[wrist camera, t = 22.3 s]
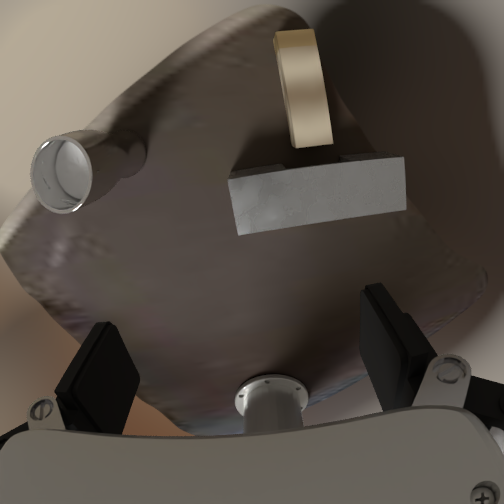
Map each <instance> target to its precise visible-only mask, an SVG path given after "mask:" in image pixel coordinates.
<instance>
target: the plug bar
mask: <svg viewBox="0 0 504 504" xmlns="http://www.w3.org/2000/svg"><path fill="white" fill-rule="evenodd" d="M273 43H274V48H275V53H276V58H277V63H278V68H279V74H280V79H281V85H282V90H283V96H284V102H285V108H286V114H287V120H288V126H289V132H290V138H291V145H292V146H293V147H295V148H302V147H310V146H318V145H327V144H333V138H332V130H331V123H330V117H329V110H328V103H327V97H326V91H325V85H324V80H323V74H322V69H321V63H320V58H319V53H318V48H317V43H316V38H315V34H314V29H303V30H290V31H279V32H276V33H275V36H274V40H273Z"/></svg>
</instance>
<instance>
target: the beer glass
mask: <svg viewBox="0 0 504 504" xmlns="http://www.w3.org/2000/svg"><path fill="white" fill-rule="evenodd" d="M145 159H146V147H145V144H144V142H143V140H142V139H141V137H140V136H139V135H138V134H136V133H135V132H133V131H130V130H118V131H116V132H114V133H112V134H109V133H106V132H103V131H97V130H79V131H73V132H69V133H65V134H62V135H59V136H55V137H51V138H49V139H48V140H46V141H45V142H43V143H42V144H41V145H40V147H39V148H38V149H37V151H36V153H35V155H34V157H33V160H32V164H31V173H30V174H31V183H32V187H33V190H34V193H35V195H36V197H37V198H38V200H39V201H40V202H41V204H42V205H43V206H44V207H46V208H47V209H48V210H50V211H52V212H55V213H59V214H66V213H71V212H73V211H75V210H77V209H79V208H82V207H84V206H86V205H89V204H91V203H93V202H94V201H96V200H98V199H100V198H101V197H103V196H104V195H106V194H107V193H108V192H109V191H110V190H111V189H112V188H113V187H114V186H115V185H116V184H117V183H118V182H119V181H120V179H121V178H129V177H131V176H133V175H135V174H136V173H138V172H139V171H140V169H141V168H142V167H143V165H144V162H145Z"/></svg>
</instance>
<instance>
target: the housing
mask: <svg viewBox="0 0 504 504" xmlns="http://www.w3.org/2000/svg"><path fill="white" fill-rule="evenodd" d="M339 160H340V162H338V163H329V164H321V165H314V166H306V167H299V168H292V169H286V168H285V167H284V166H283V165H282V163H280V164H274V165H267V166H261V167H255V168H249V169H243V170H237V171H231V172H230V175H229V177H228V185H229V190H230V195H231V201H232V206H233V211H234V216H235V221H236V226H237V231H238V235H243V234H249V233H255V232H261V231H268V230H274V229H280V228H287V227H293V226H299V225H306V224H312V223H319V222H325V221H332V220H339V219H345V218H352V217H359V216H366V215H373V214H380V213H387V212H394V211H401V210H406V184H405V165H404V157H402V156H399V155H395V154H391V153H388V152H372V153H361V154H351V155H342V156H339Z"/></svg>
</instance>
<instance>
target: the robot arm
mask: <svg viewBox="0 0 504 504" xmlns="http://www.w3.org/2000/svg"><path fill="white" fill-rule="evenodd" d="M359 347H360V354H361V357H362V360H363V362H364V364H365V367H366V369H367V372H368V374H369V377H370V379H371V382H372V384H373V387H374V389H375V392H376V394H377V397H378V399H379V402H380V405H381V407H382V410H383V412H379V413H374V414H369V415H364V416H360V417H355V418H350V419H345V420H340V421H334V422H328V423H323V424H317V425H311V426H305V427H304V425H303V418H302V411H303V410H304V409H305V407H306V406H307V403H308V392H307V389H306V387H305V386H304V385H303V383H301V382H300V381H299V380H297V379H295V378H293V377H290V376H286V375H279V374H271V375H263V376H259V377H256V378H253V379H250V380H249V381H247V382H245V383H244V384H243V385H241V386H240V388H239V389H238V390H237V392H236V395H235V406H236V409H237V410H238V412H239V413H240V414H241V415H243V416H244V432H243V434H233V435H215V436H184V437H183V436H136V435H122V432H123V429H124V426H125V423H126V420H127V417H128V414H129V412H130V408H131V406H132V403H133V400H134V397H135V394H136V391H137V389H138V386H139V383H140V376H139V373H138V371H137V369H136V367H135V365H134V363H133V361H132V359H131V357H130V355H129V353H128V351H127V349H126V347H125V344H124V342H123V340H122V338H121V336H120V334H119V331H118V329H117V327H116V326H115V325H113V324H112V323H111V322H98V323H96V324H95V325H94V327H93V328H92V330H91V331H90V333H89V334H88V336H87V338H86V339H85V341H84V342H83V344H82V346H81V347H80V349H79V350H78V352H77V354H76V355H75V357H74V358H73V360H72V362H71V363H70V365H69V367H68V368H67V370H66V372H65V373H64V375H63V377H62V378H61V380H60V382H59V384H58V385H57V387H56V389H55V393H56V395H57V398H56V400H55V399H54V398H53V397H50V396H44V397H41V398H39V399H37V400H35V401H34V402H33V403H32V404H31V405H30V407H29V408H28V411H27V422H26V423H24V424H22V425H20V426H18V427H16V428H15V429H13V430H11V431H9V432H7V433H6V434H4V435H2V436H0V504H504V384H500V383H497V382H493V381H489V380H486V379H482V378H479V377H475V376H471V367H470V365H469V363H468V362H467V361H466V360H465V359H463V358H462V357H460V356H457V355H453V354H443V355H440V356H438V355H437V353H436V352H435V350H434V349H433V348H432V346H431V345H430V343H429V342H428V340H427V339H426V337H425V336H424V334H423V333H422V331H421V330H420V328H419V327H418V326H417V324H416V323H415V321H414V320H413V319H412V317H411V316H410V315H409V314H408V313H402V311H401V310H400V308H399V307H398V306H397V304H396V303H395V301H394V300H393V298H392V297H391V296H390V294H389V293H388V291H387V290H386V289H385V287H384V286H383V285H382V283H376V284H371V285H366V286H365V290H361V294H360V346H359Z"/></svg>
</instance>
